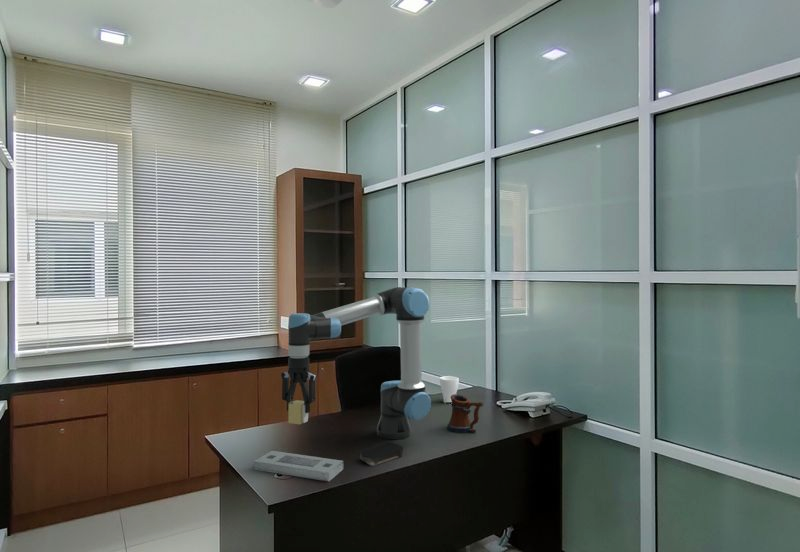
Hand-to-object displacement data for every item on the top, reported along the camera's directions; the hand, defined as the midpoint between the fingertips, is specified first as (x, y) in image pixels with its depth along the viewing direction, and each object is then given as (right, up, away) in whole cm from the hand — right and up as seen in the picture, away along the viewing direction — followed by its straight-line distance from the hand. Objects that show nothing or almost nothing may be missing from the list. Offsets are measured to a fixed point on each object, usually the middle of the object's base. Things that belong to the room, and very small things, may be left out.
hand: (298, 420), depth 173 cm
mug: (+66, -18, +43) cm, 81 cm away
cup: (+64, -18, +90) cm, 112 cm away
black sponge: (+30, -18, +10) cm, 36 cm away
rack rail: (0, -17, -1) cm, 17 cm away
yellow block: (0, 0, 0) cm, 0 cm away
